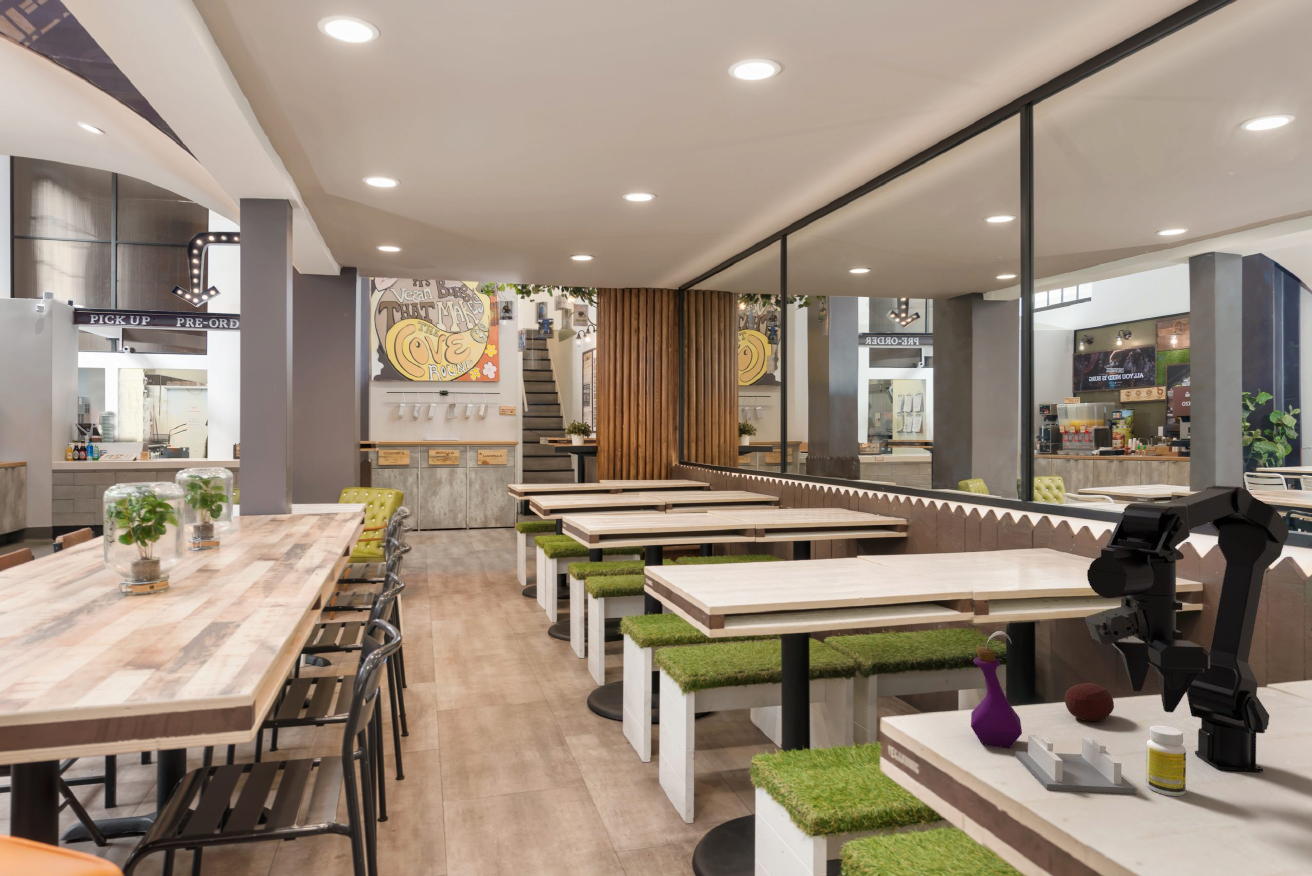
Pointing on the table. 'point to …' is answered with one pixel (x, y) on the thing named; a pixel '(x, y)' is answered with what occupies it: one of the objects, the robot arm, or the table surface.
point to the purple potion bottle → (994, 705)
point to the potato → (1089, 702)
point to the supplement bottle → (1166, 761)
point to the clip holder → (1075, 767)
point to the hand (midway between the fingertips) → (1151, 701)
